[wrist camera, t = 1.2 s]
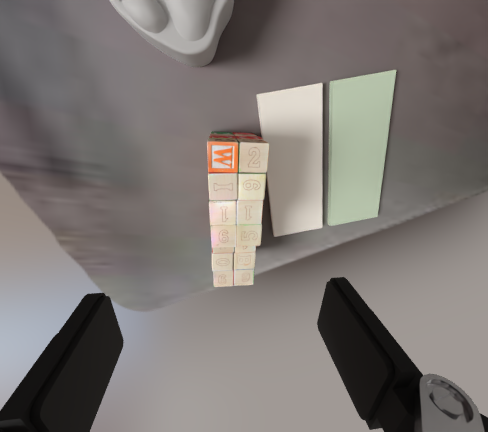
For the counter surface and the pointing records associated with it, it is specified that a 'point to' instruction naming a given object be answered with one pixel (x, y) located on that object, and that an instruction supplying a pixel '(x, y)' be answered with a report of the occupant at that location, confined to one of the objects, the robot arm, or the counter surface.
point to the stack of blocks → (235, 204)
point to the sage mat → (358, 145)
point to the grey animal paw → (179, 26)
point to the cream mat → (293, 157)
